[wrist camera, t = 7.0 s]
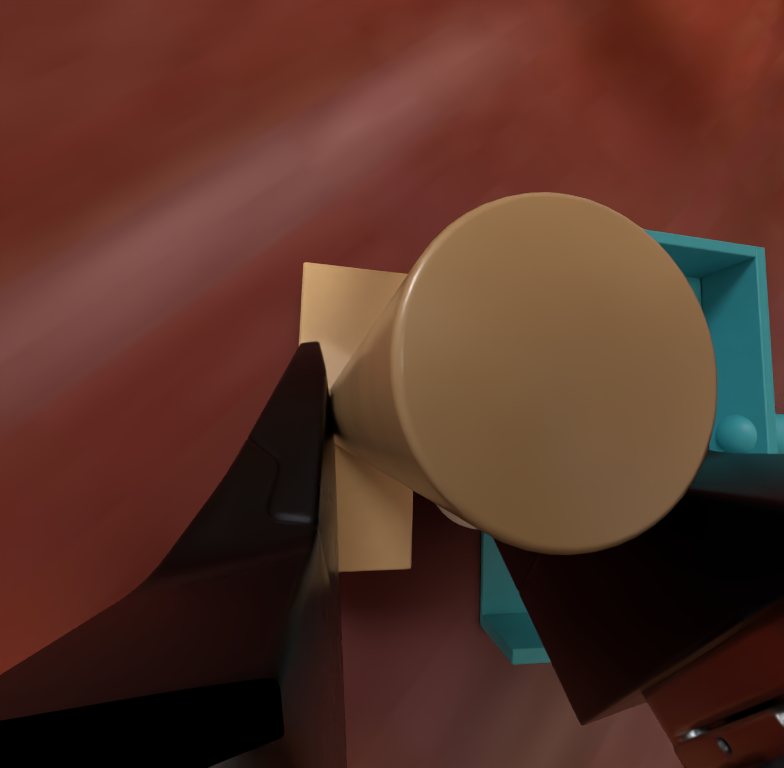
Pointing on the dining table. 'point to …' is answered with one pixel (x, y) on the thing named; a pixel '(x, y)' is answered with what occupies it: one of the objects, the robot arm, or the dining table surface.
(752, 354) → the dustpan
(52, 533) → the dining table surface
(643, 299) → the brush
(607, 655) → the robot arm
